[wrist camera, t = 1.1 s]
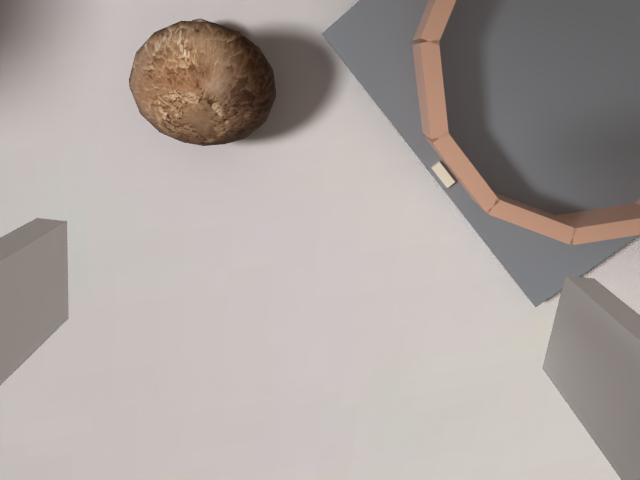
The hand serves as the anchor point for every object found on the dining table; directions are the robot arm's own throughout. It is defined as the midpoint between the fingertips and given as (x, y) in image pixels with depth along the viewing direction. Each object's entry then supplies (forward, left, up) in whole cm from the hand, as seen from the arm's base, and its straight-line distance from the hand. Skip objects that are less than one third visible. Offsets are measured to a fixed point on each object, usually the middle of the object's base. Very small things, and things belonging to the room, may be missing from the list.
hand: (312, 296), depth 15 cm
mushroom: (-8, -2, -23) cm, 24 cm away
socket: (+5, +16, -22) cm, 28 cm away
